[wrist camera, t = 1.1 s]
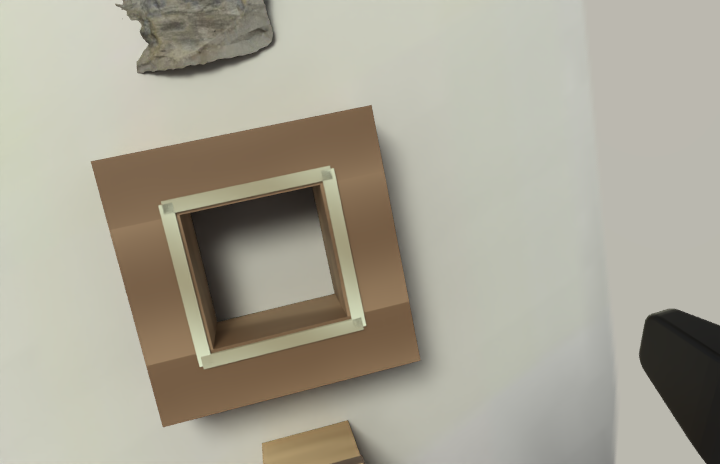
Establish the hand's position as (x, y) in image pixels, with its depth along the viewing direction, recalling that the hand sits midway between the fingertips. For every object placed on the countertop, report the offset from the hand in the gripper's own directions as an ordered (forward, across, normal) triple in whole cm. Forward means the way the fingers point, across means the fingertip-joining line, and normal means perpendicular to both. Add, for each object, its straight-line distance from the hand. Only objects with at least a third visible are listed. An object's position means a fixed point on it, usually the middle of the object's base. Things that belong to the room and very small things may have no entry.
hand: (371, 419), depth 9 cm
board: (+13, 0, +5) cm, 14 cm away
